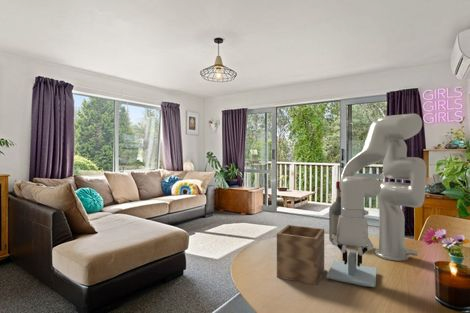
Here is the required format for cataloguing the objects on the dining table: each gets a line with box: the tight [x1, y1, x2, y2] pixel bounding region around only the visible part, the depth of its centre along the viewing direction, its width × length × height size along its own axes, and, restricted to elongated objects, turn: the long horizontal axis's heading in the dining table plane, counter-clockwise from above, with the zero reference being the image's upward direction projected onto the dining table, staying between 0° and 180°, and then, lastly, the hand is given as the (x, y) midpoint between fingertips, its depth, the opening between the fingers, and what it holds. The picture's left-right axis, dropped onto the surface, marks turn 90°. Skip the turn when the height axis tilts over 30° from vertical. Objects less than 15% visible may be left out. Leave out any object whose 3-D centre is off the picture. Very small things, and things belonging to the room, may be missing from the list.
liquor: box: [328, 180, 349, 247], centre depth 140 cm, size 9×9×30 cm
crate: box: [276, 224, 325, 286], centre depth 105 cm, size 14×14×16 cm
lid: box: [326, 249, 378, 288], centre depth 101 cm, size 15×15×9 cm
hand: (352, 263), depth 101 cm, fingers open, 3 cm apart
